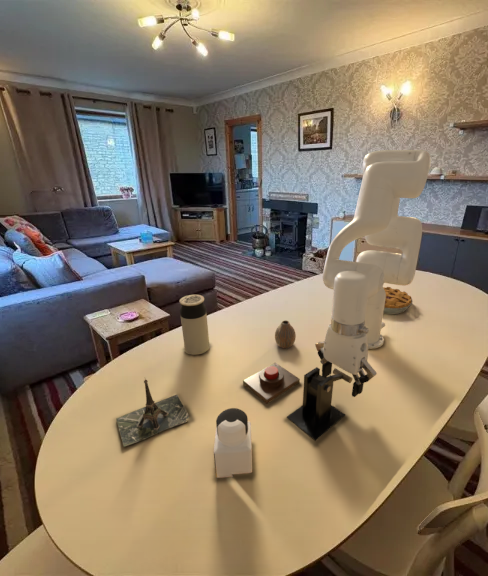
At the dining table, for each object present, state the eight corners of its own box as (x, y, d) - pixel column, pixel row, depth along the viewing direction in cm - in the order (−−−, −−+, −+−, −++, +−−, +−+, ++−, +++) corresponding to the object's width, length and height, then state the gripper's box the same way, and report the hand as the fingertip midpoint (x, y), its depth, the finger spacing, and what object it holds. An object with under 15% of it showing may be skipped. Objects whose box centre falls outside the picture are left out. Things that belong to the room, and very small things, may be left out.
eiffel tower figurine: (178, 395, 82) (171, 352, 76) (191, 420, 74) (185, 374, 69) (116, 419, 74) (104, 374, 69) (124, 450, 66) (111, 402, 61)
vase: (293, 352, 100) (294, 328, 97) (273, 349, 101) (273, 326, 98) (296, 340, 106) (297, 318, 103) (276, 338, 107) (277, 316, 104)
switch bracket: (316, 398, 80) (319, 357, 76) (345, 418, 74) (350, 375, 69) (286, 420, 74) (287, 377, 69) (315, 444, 67) (318, 398, 63)
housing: (275, 368, 92) (275, 357, 91) (299, 385, 85) (300, 373, 84) (243, 386, 85) (242, 374, 83) (267, 406, 78) (266, 394, 76)
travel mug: (214, 345, 104) (210, 296, 97) (199, 358, 97) (194, 306, 90) (195, 339, 107) (189, 292, 100) (179, 352, 100) (172, 301, 93)
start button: (271, 369, 86) (271, 364, 85) (280, 375, 83) (280, 370, 83) (262, 375, 84) (261, 369, 83) (270, 381, 81) (270, 376, 81)
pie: (415, 300, 136) (417, 290, 134) (405, 321, 119) (408, 309, 117) (366, 290, 147) (367, 280, 145) (351, 307, 130) (352, 296, 128)
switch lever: (334, 374, 79) (337, 366, 79) (351, 384, 76) (353, 375, 75) (305, 383, 71) (307, 373, 70) (322, 394, 67) (324, 384, 67)
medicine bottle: (218, 447, 67) (214, 404, 62) (251, 445, 67) (250, 402, 63) (216, 479, 60) (211, 433, 56) (252, 476, 61) (250, 430, 56)
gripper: (390, 333, 67) (379, 395, 74) (327, 307, 79) (323, 362, 86) (372, 346, 63) (362, 411, 69) (308, 316, 75) (305, 374, 81)
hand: (340, 384), depth 78 cm, fingers open, 8 cm apart
